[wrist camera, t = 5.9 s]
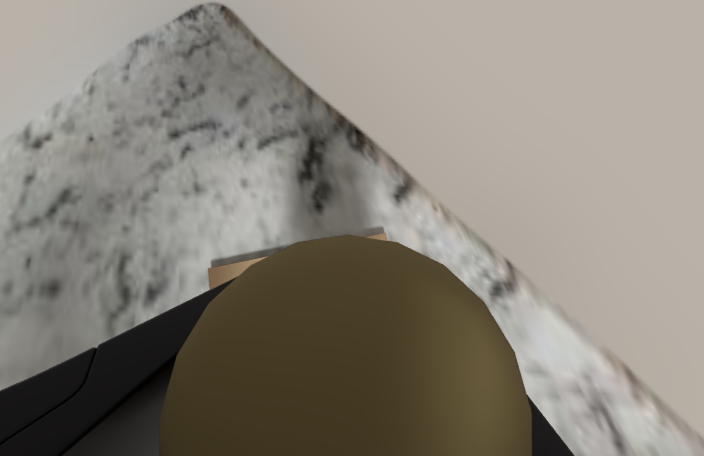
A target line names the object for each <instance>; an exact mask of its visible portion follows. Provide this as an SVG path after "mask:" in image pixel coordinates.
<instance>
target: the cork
mask: <svg viewBox="0 0 704 456" xmlns="http://www.w3.org/2000/svg"><path fill="white" fill-rule="evenodd" d="M159 456H532V412H531V409H530V405H529V402H528V398H527V394H526V391H525V387H524V384H523V380H522V377H521V373H520V370H519V366H518V362H517V359H516V355H515V352H514V350H513V349H512V347H511V345H510V344H509V342H508V340H507V339H506V337H505V336H504V334H503V332H502V331H501V329H500V327H499V326H498V324H497V322H496V321H495V319H494V317H493V316H492V314H491V313H490V311H489V309H488V308H487V306H486V304H485V303H484V302H483V301H482V300H481V299H480V298H479V297H478V296H477V295H476V294H475V293H474V292H473V291H472V290H470V289H469V288H468V287H467V286H466V285H465V284H464V283H463V282H462V281H461V280H460V279H459V278H457V277H456V276H455V275H454V274H453V273H452V272H451V271H450V270H449V269H448V268H447V267H446V266H444V265H443V264H441V263H439V262H437V261H435V260H432V259H430V258H428V257H426V256H424V255H422V254H420V253H418V252H416V251H414V250H412V249H410V248H408V247H406V246H404V245H402V244H400V243H398V242H391V241H385V240H378V239H372V238H365V237H359V236H352V235H343V236H337V237H330V238H323V239H317V240H310V241H304V242H298V243H295V244H293V245H291V246H289V247H287V248H285V249H283V250H281V251H279V252H277V253H275V254H273V255H271V256H269V257H267V258H265V259H262V260H260V261H258V262H256V263H254V264H252V265H250V266H249V267H248V268H247V269H246V270H245V271H244V272H243V273H241V274H240V275H239V276H238V277H237V278H236V279H235V280H234V281H233V282H232V283H230V284H229V285H228V286H227V287H226V288H225V289H224V290H223V291H222V292H221V293H220V294H218V295H217V296H216V297H215V298H214V299H213V300H212V301H211V302H210V303H209V304H208V305H207V307H206V309H205V310H204V312H203V314H202V315H201V317H200V318H199V320H198V322H197V323H196V325H195V327H194V328H193V330H192V332H191V333H190V335H189V336H188V338H187V340H186V341H185V343H184V345H183V346H182V348H181V349H180V351H179V353H178V354H177V357H176V361H175V364H174V368H173V371H172V375H171V378H170V382H169V385H168V389H167V392H166V396H165V399H164V403H163V406H162V410H161V413H160V417H159Z"/></svg>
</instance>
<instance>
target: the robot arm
mask: <svg viewBox="0 0 704 456" xmlns="http://www.w3.org/2000/svg"><path fill="white" fill-rule="evenodd" d="M237 277H238V276H237ZM237 277H235V278H233V279H231V280H229V281H227V282H225V283H223V284H221V285H219V286H217V287H215V288H213V289H211V290H209V291H207V292H205V293H203V294H201V295H199V296H197V297H195V298H193V299H191V300H189V301H186V302H184V303H182V304H180V305H178V306H176V307H174V308H172V309H170V310H168V311H166V312H164V313H162V314H160V315H158V316H156V317H154V318H152V319H150V320H148V321H146V322H144V323H142V324H140V325H138V326H136V327H134V328H132V329H130V330H128V331H126V332H124V333H122V334H120V335H118V336H116V337H114V338H112V339H110V340H108V341H106V342H104V343H102V344H100V345H98V347H97V348H95V347H94V348H91V349H89V350H87V351H85V352H83V353H81V354H79V355H77V356H75V357H73V358H71V359H69V360H67V361H65V362H62V363H60V364H58V365H56V366H54V367H52V368H50V369H48V370H46V371H43V372H41V373H39V374H37V375H35V376H33V377H31V378H28V379H26V380H24V381H21V382H19V383H17V384H15V385H12V386H10V387H8V388H5V389H3V390H1V391H0V456H159V417H160V413H161V410H162V406H163V403H164V399H165V396H166V392H167V389H168V385H169V382H170V378H171V375H172V371H173V368H174V364H175V361H176V357H177V354H178V353H179V351H180V349H181V348H182V346H183V345H184V343H185V341H186V340H187V338H188V336H189V335H190V333H191V332H192V330H193V328H194V327H195V325H196V323H197V322H198V320H199V318H200V317H201V315H202V314H203V312H204V310H205V309H206V307H207V305H208V304H209V303H210V302H211V301H212V300H213V299H214V298H215V297H216V296H217V295H218V294H220V293H221V292H222V291H223V290H224V289H225V288H226V287H227V286H228V285H229V284H230V283H232V282H233V281H234V280H235V279H236V278H237ZM527 398H528V402H529V405H530V409H531V412H532V456H574V454H573V453H572V452H571V451H570V449H569V448H568V447H567V445H566V444H565V443H564V442H563V440H562V439H561V438H560V436H559V435H558V434H557V433H556V431H555V430H554V429H553V427H552V426H551V425H550V424H549V422H548V421H547V420H546V418H545V417H544V416H543V415H542V413H541V412H540V411H539V409H538V408H537V407H536V406H535V404H534V403H533V402H532V400H531V399H530V398H529V397H528V395H527Z"/></svg>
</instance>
